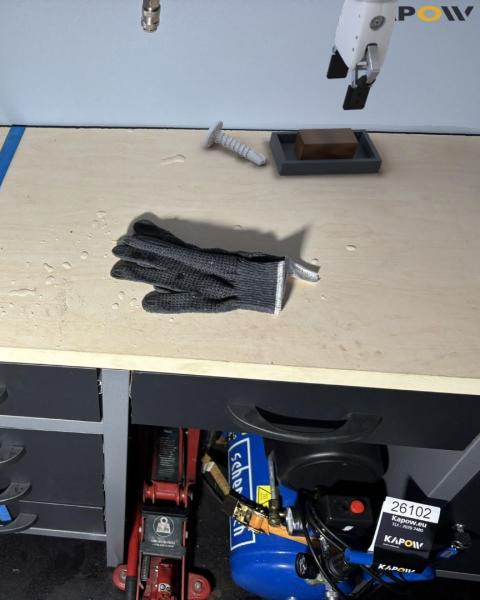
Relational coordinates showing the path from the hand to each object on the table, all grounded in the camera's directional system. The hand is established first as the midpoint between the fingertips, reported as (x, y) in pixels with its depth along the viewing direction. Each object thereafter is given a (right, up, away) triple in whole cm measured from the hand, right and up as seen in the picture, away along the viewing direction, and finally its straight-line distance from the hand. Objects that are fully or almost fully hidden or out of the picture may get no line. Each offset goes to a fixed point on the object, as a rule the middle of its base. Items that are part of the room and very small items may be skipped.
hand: (344, 92), depth 97 cm
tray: (0, -8, +9) cm, 13 cm away
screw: (-15, -7, +11) cm, 20 cm away
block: (0, -8, +9) cm, 12 cm away
